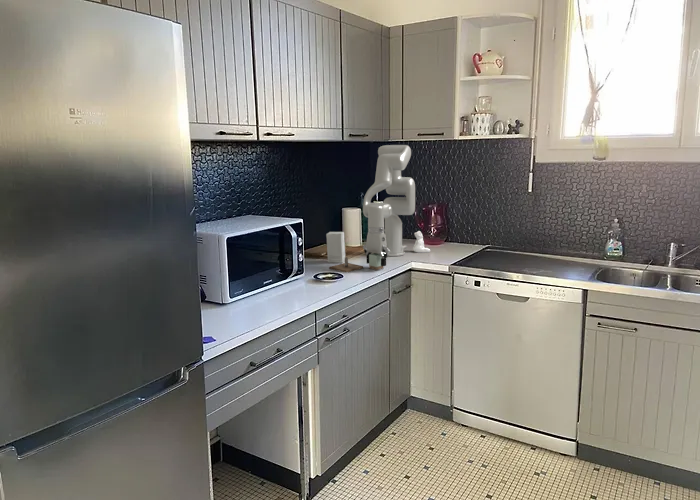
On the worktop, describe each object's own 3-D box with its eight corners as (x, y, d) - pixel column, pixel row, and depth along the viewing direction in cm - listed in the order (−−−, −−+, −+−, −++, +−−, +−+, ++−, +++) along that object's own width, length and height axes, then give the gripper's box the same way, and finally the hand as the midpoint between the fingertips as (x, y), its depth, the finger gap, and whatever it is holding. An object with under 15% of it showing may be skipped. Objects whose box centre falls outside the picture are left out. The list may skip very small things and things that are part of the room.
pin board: (346, 264, 275) (346, 254, 274) (363, 268, 266) (363, 257, 265) (329, 268, 267) (329, 257, 266) (346, 272, 258) (345, 261, 257)
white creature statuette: (431, 252, 300) (431, 231, 298) (417, 254, 297) (417, 232, 295) (422, 249, 309) (423, 229, 307) (409, 251, 306) (409, 230, 304)
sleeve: (376, 266, 269) (376, 253, 268) (383, 268, 265) (383, 254, 264) (369, 268, 266) (369, 254, 264) (376, 269, 262) (376, 255, 261)
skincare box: (345, 260, 284) (345, 231, 281) (342, 263, 278) (341, 233, 275) (330, 260, 286) (329, 231, 283) (326, 262, 280) (326, 233, 277)
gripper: (394, 231, 258) (394, 265, 262) (368, 227, 270) (368, 260, 274) (383, 233, 253) (384, 268, 256) (358, 229, 265) (358, 263, 269)
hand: (376, 264), depth 265 cm, fingers open, 9 cm apart
